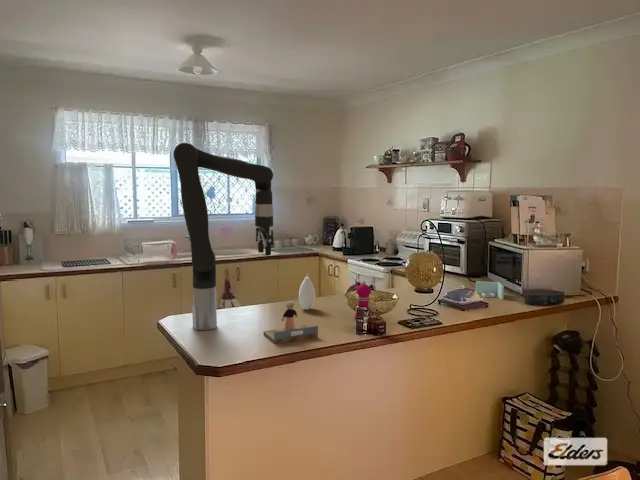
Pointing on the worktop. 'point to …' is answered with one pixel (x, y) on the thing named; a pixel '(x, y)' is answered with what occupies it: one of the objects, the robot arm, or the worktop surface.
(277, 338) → the price rail
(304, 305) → the sauce bottle
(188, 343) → the worktop surface
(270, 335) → the shelf board
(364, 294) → the pepper mill
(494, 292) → the l-shaped corner panel
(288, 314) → the grandmother figurine
